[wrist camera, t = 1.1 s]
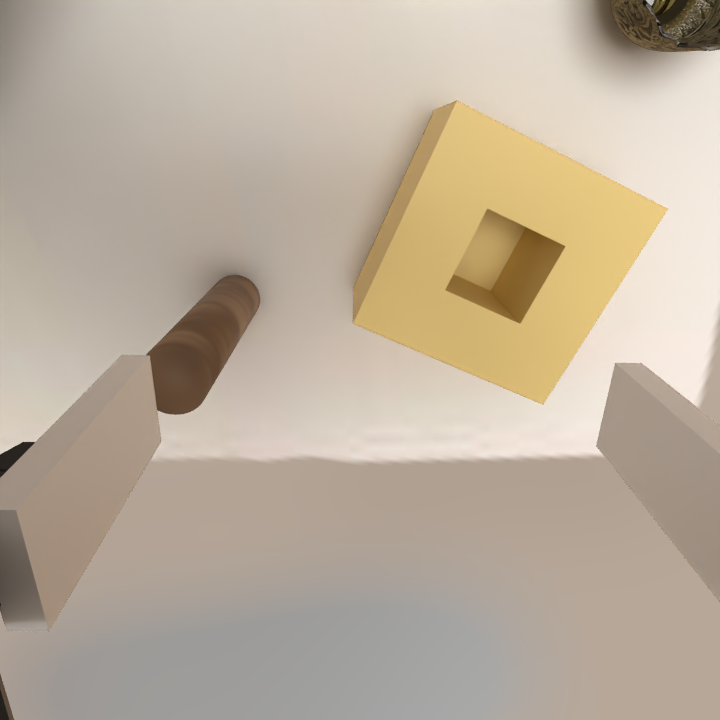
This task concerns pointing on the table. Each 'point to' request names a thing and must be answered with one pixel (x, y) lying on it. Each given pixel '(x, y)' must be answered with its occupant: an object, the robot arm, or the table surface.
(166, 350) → the walnut peg
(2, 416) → the table surface
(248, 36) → the table surface
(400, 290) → the hole block
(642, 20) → the cup
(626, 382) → the robot arm
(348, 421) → the table surface
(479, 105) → the table surface
